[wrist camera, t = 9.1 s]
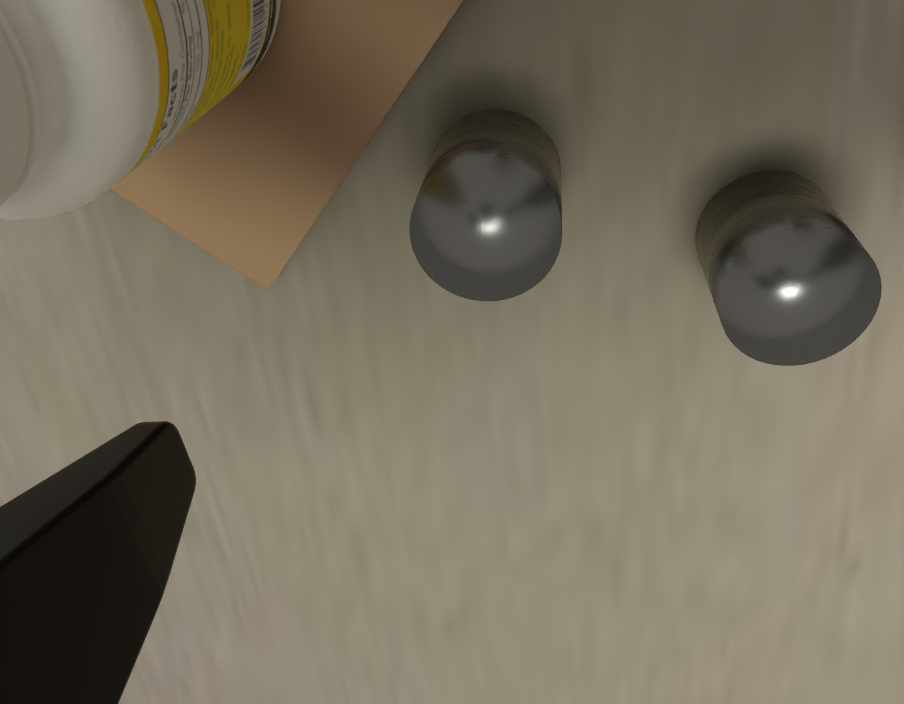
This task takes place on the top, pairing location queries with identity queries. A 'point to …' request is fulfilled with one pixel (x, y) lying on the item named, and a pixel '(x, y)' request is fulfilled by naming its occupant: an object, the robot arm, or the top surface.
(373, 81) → the tan square slab
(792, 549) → the top surface
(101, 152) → the supplement bottle
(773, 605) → the top surface
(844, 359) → the top surface
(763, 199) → the grey rounded cylinders
